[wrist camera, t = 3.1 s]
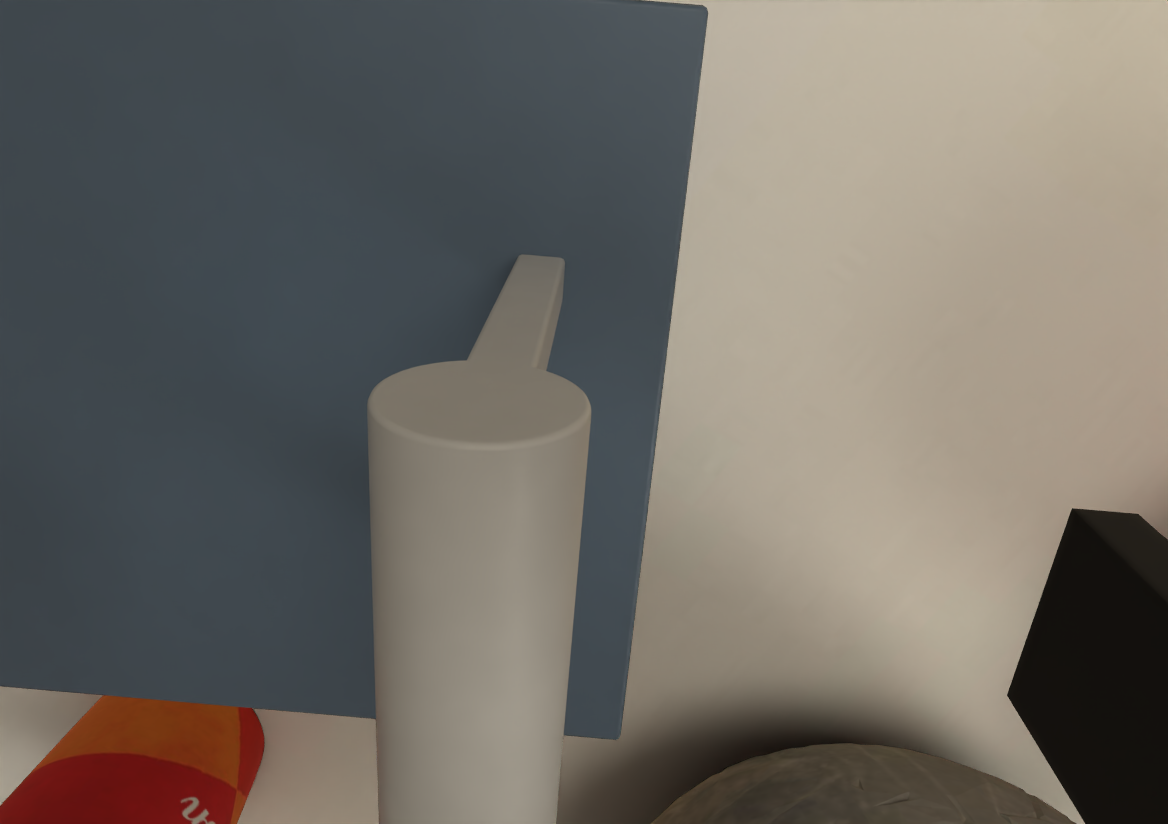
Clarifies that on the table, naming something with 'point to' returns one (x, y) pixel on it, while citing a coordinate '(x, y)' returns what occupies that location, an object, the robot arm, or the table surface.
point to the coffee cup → (144, 766)
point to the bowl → (856, 791)
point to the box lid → (341, 364)
